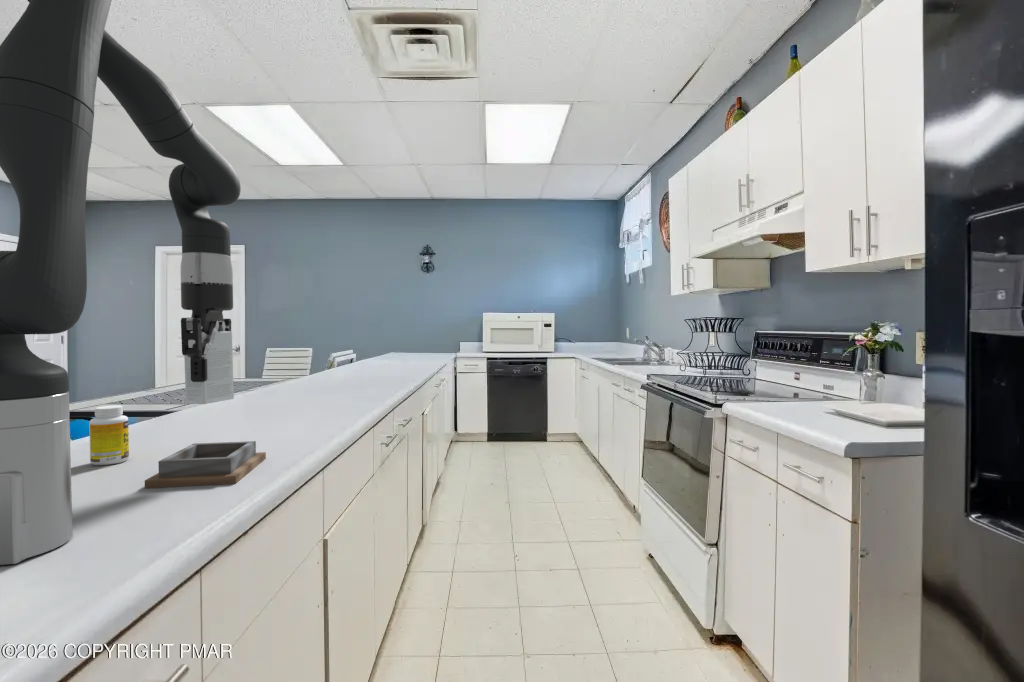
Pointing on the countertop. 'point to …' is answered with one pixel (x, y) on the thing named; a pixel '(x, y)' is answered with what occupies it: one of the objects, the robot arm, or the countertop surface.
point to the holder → (207, 464)
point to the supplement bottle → (109, 436)
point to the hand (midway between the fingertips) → (209, 378)
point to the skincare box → (213, 373)
